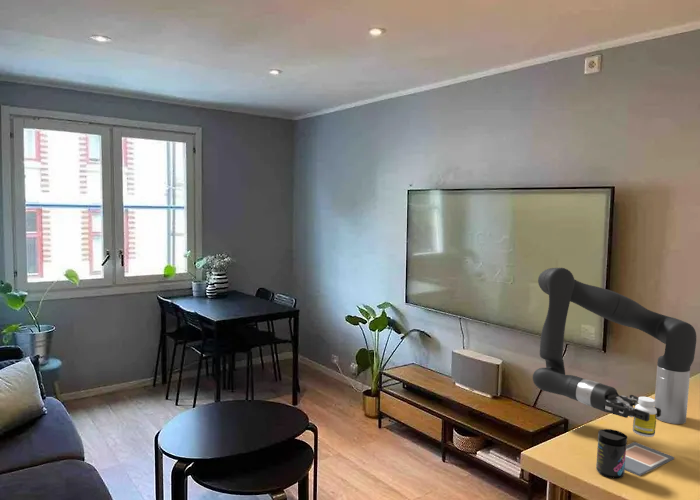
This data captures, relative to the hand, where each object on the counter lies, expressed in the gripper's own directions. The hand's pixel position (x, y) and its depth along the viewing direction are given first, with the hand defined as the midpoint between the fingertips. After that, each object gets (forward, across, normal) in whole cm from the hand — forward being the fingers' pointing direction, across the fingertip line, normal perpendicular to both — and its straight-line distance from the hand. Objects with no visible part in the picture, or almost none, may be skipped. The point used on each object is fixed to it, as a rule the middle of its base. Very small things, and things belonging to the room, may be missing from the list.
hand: (654, 415), depth 144 cm
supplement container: (-2, -16, +13) cm, 21 cm away
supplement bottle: (-2, 0, +6) cm, 7 cm away
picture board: (-3, -2, +13) cm, 14 cm away
